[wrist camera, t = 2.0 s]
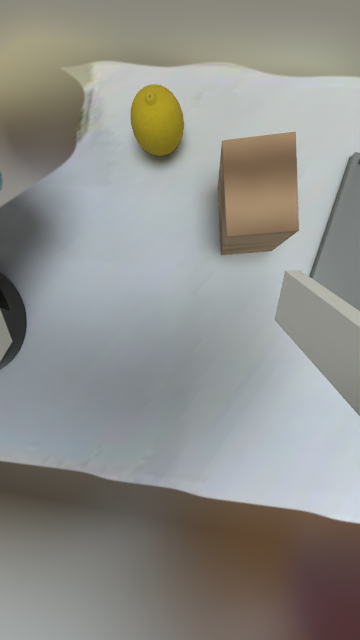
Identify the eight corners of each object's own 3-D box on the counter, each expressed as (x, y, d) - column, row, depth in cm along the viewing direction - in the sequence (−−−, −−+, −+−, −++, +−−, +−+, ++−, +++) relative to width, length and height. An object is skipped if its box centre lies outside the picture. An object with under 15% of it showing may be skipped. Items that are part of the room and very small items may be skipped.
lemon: (160, 110, 33) (145, 51, 25) (195, 139, 33) (192, 89, 25) (132, 149, 34) (109, 103, 26) (166, 177, 34) (154, 140, 26)
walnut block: (271, 251, 33) (298, 230, 23) (221, 255, 34) (227, 236, 24) (268, 182, 33) (295, 131, 23) (217, 187, 33) (222, 140, 23)
